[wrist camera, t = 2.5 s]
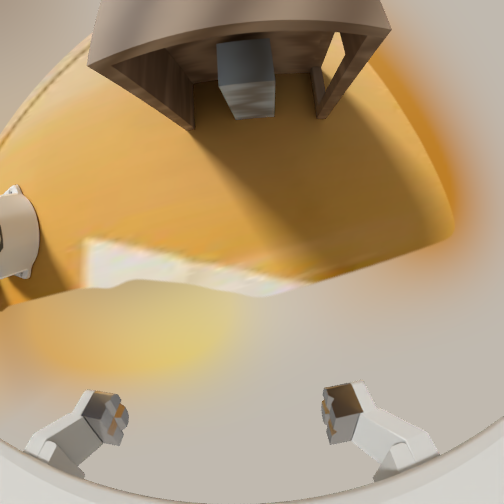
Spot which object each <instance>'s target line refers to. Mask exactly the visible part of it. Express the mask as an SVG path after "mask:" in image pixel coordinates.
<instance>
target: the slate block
mask: <svg viewBox="0 0 504 504" xmlns="http://www.w3.org/2000/svg"><path fill="white" fill-rule="evenodd" d="M216 48H217V67H218V85H219V88H220V90H221V92H222V94H223V96H224V98H225V100H226V102H227V104H228V106H229V108H230V109H231V111H232V113H233V115H234V117H235V119H236V120H241V119H251V118H263V117H274V111H275V74H274V67H273V59H272V52H271V45H270V38H265V39H252V40H242V41H233V42H226V43H219V44H216Z"/></svg>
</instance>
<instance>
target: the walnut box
mask: <svg viewBox="0 0 504 504" xmlns="http://www.w3.org/2000/svg"><path fill="white" fill-rule="evenodd" d="M391 30H392V29H391V27H390V24H389V21H388V19H387V16H386V14H385V11H384V9H383V7H382V4H381V2H380V0H101V3H100V6H99V10H98V14H97V17H96V22H95V25H94V30H93V34H92V39H91V44H90V50H89V55H88V61H87V66H88V67H90V68H91V69H93V70H95V71H96V72H98V73H100V74H101V75H103V76H105V77H106V78H108V79H110V80H111V81H113V82H114V83H116V84H118V85H119V86H121V87H122V88H124V89H126V90H127V91H129V92H130V93H132V94H133V95H135V96H136V97H138V98H140V99H141V100H143V101H144V102H146V103H147V104H149V105H150V106H152V107H153V108H155V109H156V110H158V111H159V112H161V113H162V114H163V115H165V116H166V117H168V118H169V119H171V120H172V121H174V122H175V123H176V124H178V125H179V126H181V127H182V128H184V129H185V130H186V131H187V130H192V129H195V119H194V96H193V84H196V83H201V82H207V81H213V80H218V67H217V48H216V44H219V43H226V42H233V41H242V40H252V39H265V38H270V45H271V52H272V59H273V67H274V74H285V73H310V75H311V82H312V88H313V95H314V102H315V109H316V117H317V119H326V117H327V116H328V115H329V113H330V112H331V111H332V109H333V108H334V106H335V105H336V104H337V102H338V101H339V100H340V98H341V97H342V95H343V94H344V93H345V91H346V90H347V89H348V87H349V86H350V85H351V83H352V82H353V80H354V79H355V78H356V76H357V75H358V74H359V72H360V71H361V70H362V68H363V67H364V66H365V64H366V63H367V62H368V60H369V59H370V58H371V56H372V55H373V54H374V52H375V51H376V50H377V48H378V47H379V46H380V44H381V43H382V42H383V40H384V39H385V38H386V36H387V35H388V34H389V32H390V31H391ZM335 32H340V35H341V38H342V42H343V46H344V50H345V56H344V58H343V60H342V62H341V64H340V66H339V67H338V69H337V71H336V73H335V75H334V77H333V79H332V81H331V82H330V84H329V86H328V88H327V90H326V92H325V87H324V81H323V75H322V70H321V66H322V63H323V61H324V58H325V56H326V53H327V51H328V48H329V46H330V43H331V40H332V38H333V35H334V33H335Z"/></svg>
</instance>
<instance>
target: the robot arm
mask: <svg viewBox="0 0 504 504" xmlns="http://www.w3.org/2000/svg"><path fill="white" fill-rule="evenodd" d="M38 249H39V227H38V221H37V217H36V213H35V211H34V208H33V206H32V204H31V203H30V201H29V200H28V199H27V198H26V197H25V196H24V195H23V194H22V192H21V190H20V188H19V186H18V185H13V186H12V187H10V188H9V189H8V190H7V191H6V192H5V193H4V194H3V195H0V279H3V278H6V277H8V276H11V275H15V276H18V277H20V278H23V279H28V278H30V275H31V267H32V265H33V263H34V261H35V259H36V257H37V253H38ZM323 397H324V400H323V401H322V417H323V421H324V424H326V425H327V431H326V432H327V436H328V439H329V443H330V445H331V444H337V443H342V442H347V441H351V440H352V442H353V443H354V444H355V445H357V446H358V447H359V448H361V449H362V450H363V451H364V452H366V453H367V454H368V455H370V456H371V457H372V458H373V459H375V460H376V461H377V462H378V463H380V464H381V466H380V467H379V469H378V471H377V472H376V474H375V475H374V477H373V479H374V483H371V484H368V485H364V486H361V487H357V488H354V489H350V490H347V491H342V492H338V493H333V494H329V495H324V496H319V497H314V498H307V499H301V500H293V501H286V502H275V503H262V504H504V416H503V417H501V418H500V419H499V420H497V421H496V422H494V423H493V424H491V425H490V426H489V427H487V428H486V429H484V430H483V431H481V432H480V433H478V434H477V435H475V436H473V437H472V438H470V439H469V440H467V441H465V442H464V443H462V444H460V445H458V446H457V447H455V448H453V449H451V450H450V451H448V452H446V453H444V454H442V455H440V454H439V452H438V451H437V449H436V447H435V445H434V443H433V442H432V440H431V438H430V436H429V434H428V433H427V431H425V430H423V429H421V428H418V427H417V426H415V425H413V424H411V423H409V422H407V421H405V420H403V419H401V418H399V417H397V416H395V415H393V414H392V413H390V412H388V411H386V410H384V409H382V408H378V409H377V407H376V405H375V403H374V401H373V399H372V397H371V395H370V393H369V391H368V389H367V387H366V385H365V383H364V381H363V380H359V381H355V382H350V383H345V384H341V385H336V386H331V387H326V388H324V390H323ZM120 402H121V399H120V397H119V396H118V395H117V394H112V393H106V392H100V391H94V390H88V389H87V390H86V391H85V392H84V393H83V395H82V397H81V398H80V400H79V402H78V403H77V405H76V407H75V408H74V410H73V412H72V413H71V414H70V413H68V414H67V415H65V416H63V417H61V418H60V419H58V420H56V421H55V422H53V423H51V424H49V425H48V426H46V427H44V428H42V429H41V430H39V431H37V432H35V433H34V434H33V435H32V437H31V439H30V441H29V442H28V444H27V446H26V447H25V449H24V451H23V452H22V451H20V450H18V449H17V448H15V447H13V446H12V445H10V444H8V443H6V442H5V441H3V440H2V439H0V504H205V503H191V502H182V501H174V500H167V499H160V498H153V497H148V496H143V495H139V494H134V493H129V492H126V491H122V490H118V489H114V488H110V487H107V486H104V485H100V484H97V483H94V482H91V481H88V480H85V479H84V477H85V474H84V472H83V471H82V470H81V469H80V468H79V467H78V465H79V464H80V463H82V462H83V461H84V460H85V459H86V458H87V457H89V456H90V455H91V454H92V453H93V452H94V451H96V450H97V449H98V448H99V447H100V446H101V445H102V444H103V443H106V444H112V445H117V446H119V445H120V443H121V440H122V438H123V435H124V434H123V432H122V430H123V429H124V428H126V427H127V424H128V418H129V415H128V412H127V410H126V408H125V407H124V406H123V405H122V404H121V403H120Z"/></svg>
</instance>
